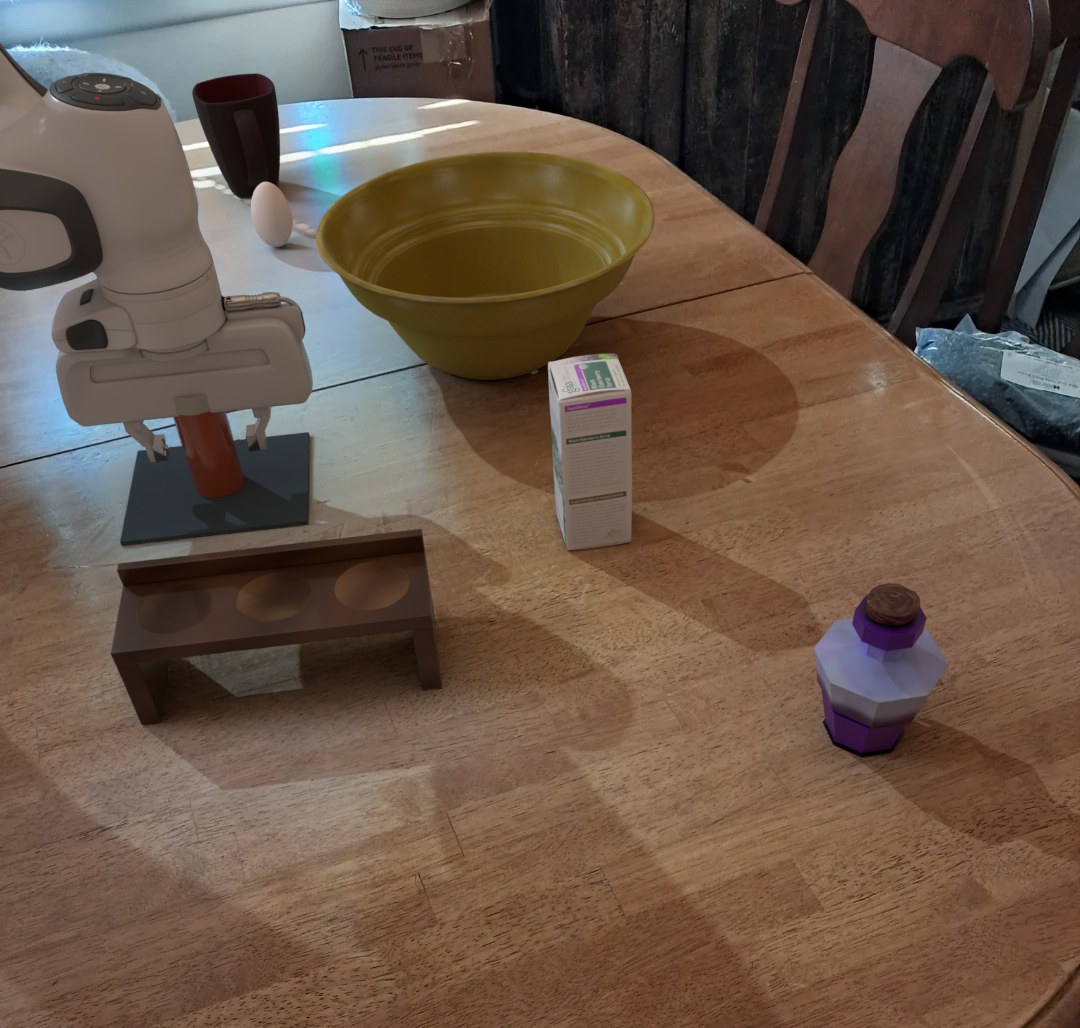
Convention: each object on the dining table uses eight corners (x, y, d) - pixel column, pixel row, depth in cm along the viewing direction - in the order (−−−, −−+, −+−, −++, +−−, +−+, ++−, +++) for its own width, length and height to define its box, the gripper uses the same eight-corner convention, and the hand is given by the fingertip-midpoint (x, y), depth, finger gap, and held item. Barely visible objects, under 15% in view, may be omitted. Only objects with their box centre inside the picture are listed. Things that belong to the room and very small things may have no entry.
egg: (271, 235, 140) (257, 172, 134) (304, 239, 138) (292, 176, 133) (251, 252, 137) (236, 188, 131) (285, 256, 135) (271, 193, 130)
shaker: (192, 501, 102) (160, 401, 95) (196, 472, 105) (165, 372, 98) (244, 495, 102) (216, 395, 95) (246, 466, 105) (220, 367, 98)
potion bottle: (927, 692, 83) (965, 561, 74) (927, 782, 77) (968, 652, 68) (805, 677, 84) (828, 546, 76) (796, 764, 79) (819, 634, 70)
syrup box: (633, 543, 96) (636, 387, 85) (563, 553, 95) (558, 397, 85) (619, 503, 100) (620, 349, 89) (551, 512, 99) (545, 358, 89)
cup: (284, 167, 154) (265, 69, 145) (307, 207, 145) (287, 105, 136) (210, 181, 152) (186, 82, 143) (228, 222, 143) (204, 119, 134)
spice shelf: (141, 725, 84) (103, 637, 77) (152, 650, 89) (117, 562, 83) (442, 688, 85) (428, 598, 79) (434, 617, 90) (421, 528, 84)
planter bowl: (398, 467, 105) (377, 330, 95) (301, 315, 125) (275, 189, 115) (708, 380, 113) (718, 245, 103) (569, 250, 133) (566, 128, 124)
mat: (121, 545, 98) (119, 542, 98) (138, 454, 108) (137, 450, 108) (308, 524, 99) (307, 520, 99) (309, 435, 109) (308, 431, 109)
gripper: (298, 272, 94) (328, 420, 104) (43, 297, 93) (98, 445, 103) (297, 308, 89) (328, 459, 100) (29, 336, 88) (88, 486, 98)
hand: (209, 452), depth 101 cm, fingers open, 7 cm apart
